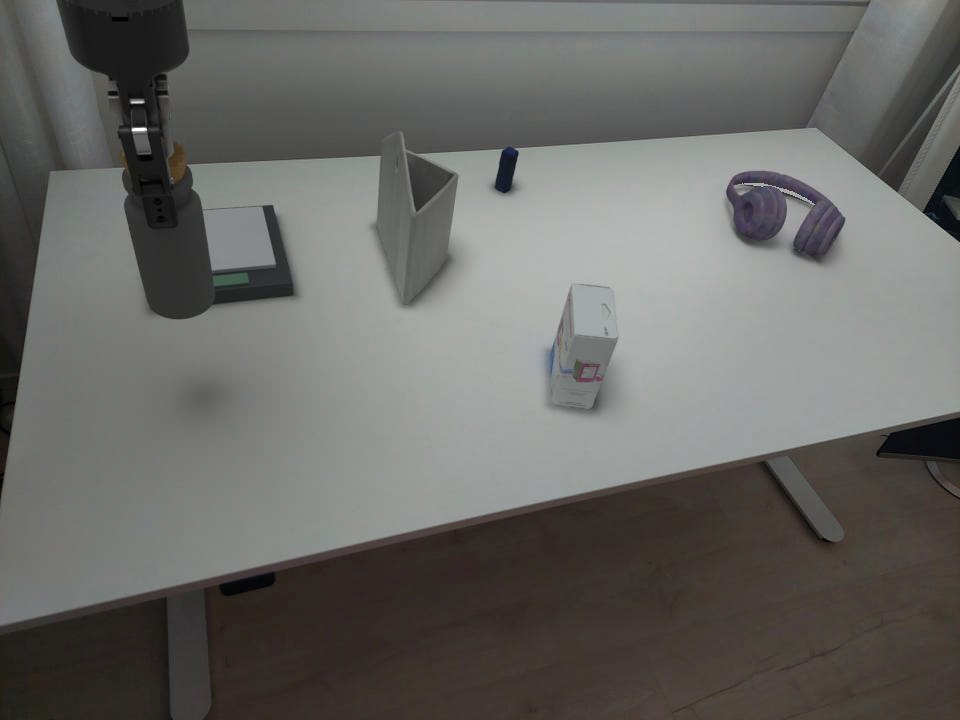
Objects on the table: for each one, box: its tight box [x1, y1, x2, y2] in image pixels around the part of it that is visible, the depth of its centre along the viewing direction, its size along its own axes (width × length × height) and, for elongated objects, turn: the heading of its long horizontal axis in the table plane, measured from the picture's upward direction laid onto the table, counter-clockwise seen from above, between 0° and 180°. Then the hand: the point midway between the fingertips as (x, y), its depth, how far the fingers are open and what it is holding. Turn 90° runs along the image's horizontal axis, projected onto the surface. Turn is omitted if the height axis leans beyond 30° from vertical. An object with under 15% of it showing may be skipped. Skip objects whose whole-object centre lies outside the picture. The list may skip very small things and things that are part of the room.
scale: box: [202, 204, 294, 305], centre depth 89 cm, size 16×16×3 cm
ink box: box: [549, 282, 619, 410], centre depth 81 cm, size 9×5×12 cm, turn 178°
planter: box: [375, 130, 460, 306], centre depth 89 cm, size 16×8×19 cm, turn 18°
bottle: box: [119, 138, 215, 320], centre depth 60 cm, size 6×6×15 cm
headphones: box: [725, 170, 846, 256], centre depth 115 cm, size 18×8×20 cm
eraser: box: [494, 146, 520, 194], centre depth 109 cm, size 2×2×7 cm
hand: (162, 201), depth 58 cm, fingers closed on bottle, 5 cm apart
